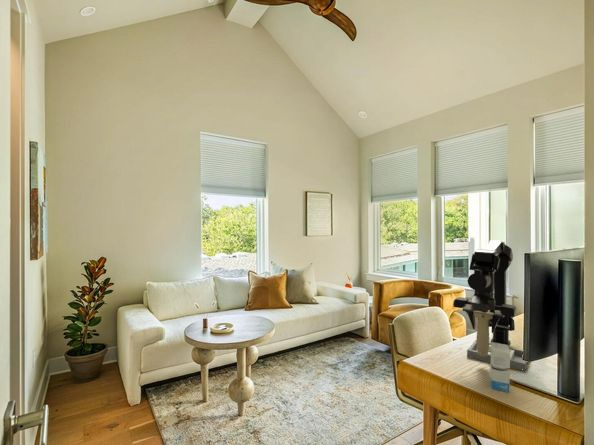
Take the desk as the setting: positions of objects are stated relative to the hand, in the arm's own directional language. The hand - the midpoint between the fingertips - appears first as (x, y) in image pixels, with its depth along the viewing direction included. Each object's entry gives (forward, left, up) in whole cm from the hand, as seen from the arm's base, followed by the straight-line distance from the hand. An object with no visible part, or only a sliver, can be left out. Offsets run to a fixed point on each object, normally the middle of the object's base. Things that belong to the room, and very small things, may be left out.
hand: (483, 330), depth 118 cm
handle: (0, 0, -9) cm, 9 cm away
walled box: (-12, +3, -12) cm, 17 cm away
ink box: (+12, +7, -12) cm, 19 cm away
